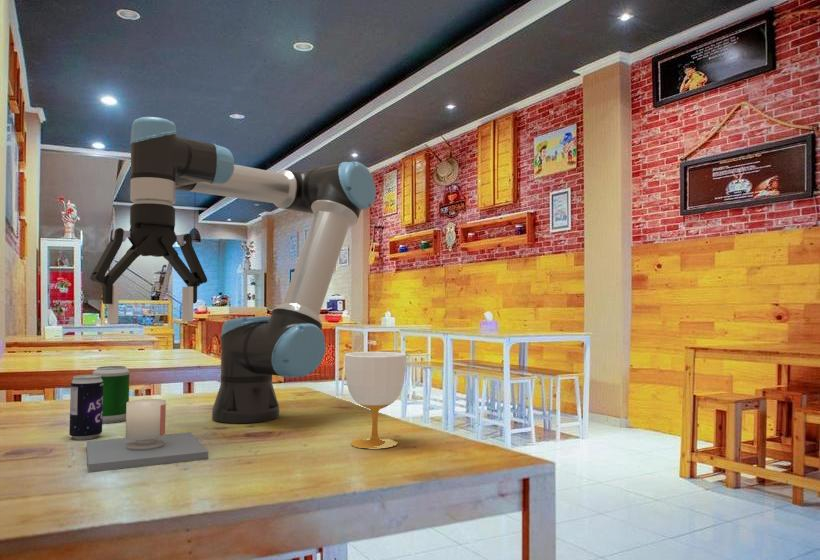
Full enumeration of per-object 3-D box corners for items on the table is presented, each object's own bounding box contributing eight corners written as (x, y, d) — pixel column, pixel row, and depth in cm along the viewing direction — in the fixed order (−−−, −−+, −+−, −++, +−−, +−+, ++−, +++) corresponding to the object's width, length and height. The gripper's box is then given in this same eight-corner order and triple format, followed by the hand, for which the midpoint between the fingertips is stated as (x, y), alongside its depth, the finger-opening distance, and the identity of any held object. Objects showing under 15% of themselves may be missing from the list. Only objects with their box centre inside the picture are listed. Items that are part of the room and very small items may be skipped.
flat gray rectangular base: (190, 438, 119) (190, 424, 119) (207, 458, 103) (208, 442, 103) (86, 448, 110) (87, 433, 110) (88, 472, 94) (88, 454, 95)
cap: (122, 434, 108) (123, 400, 108) (160, 430, 111) (161, 397, 112) (129, 441, 102) (130, 405, 103) (169, 437, 106) (169, 402, 106)
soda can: (135, 419, 137) (136, 366, 138) (103, 425, 131) (104, 369, 132) (116, 416, 141) (117, 364, 142) (84, 421, 135) (85, 367, 136)
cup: (418, 444, 115) (418, 354, 116) (373, 454, 107) (374, 357, 107) (375, 434, 123) (376, 350, 124) (330, 444, 115) (331, 353, 115)
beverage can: (88, 441, 116) (89, 378, 116) (62, 439, 117) (64, 377, 117) (108, 435, 121) (110, 374, 122) (83, 433, 122) (85, 374, 123)
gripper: (205, 213, 121) (205, 319, 121) (70, 199, 103) (68, 324, 102) (225, 210, 116) (225, 320, 116) (87, 193, 98) (85, 325, 97)
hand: (151, 322), depth 109 cm, fingers open, 13 cm apart
